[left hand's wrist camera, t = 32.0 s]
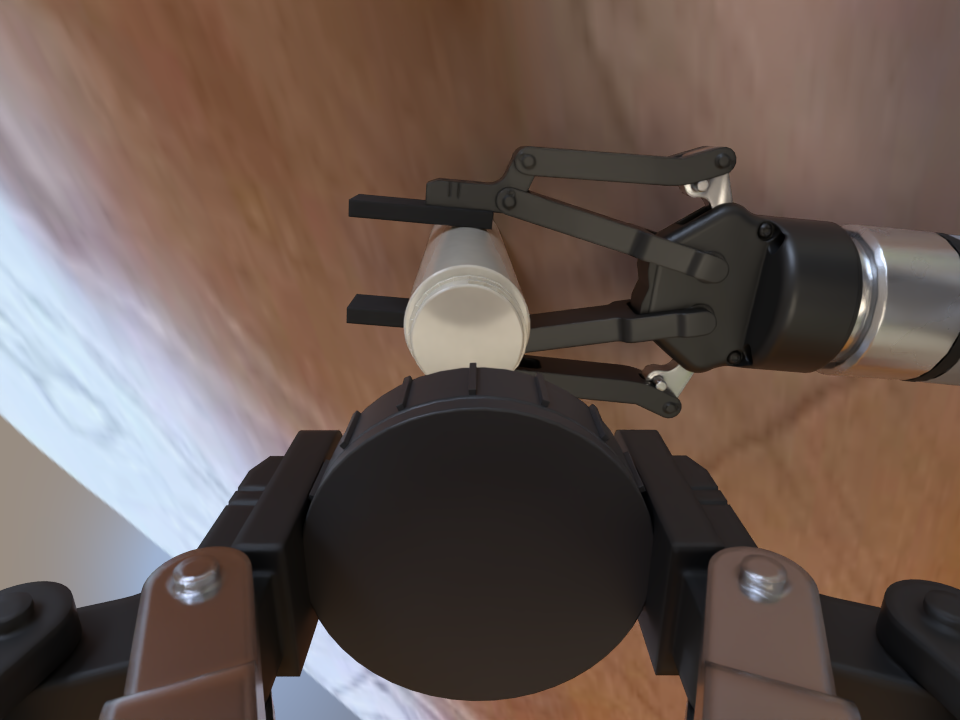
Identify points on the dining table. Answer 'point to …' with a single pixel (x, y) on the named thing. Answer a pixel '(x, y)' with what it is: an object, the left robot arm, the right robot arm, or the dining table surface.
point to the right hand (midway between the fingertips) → (353, 258)
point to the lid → (478, 536)
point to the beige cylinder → (466, 303)
